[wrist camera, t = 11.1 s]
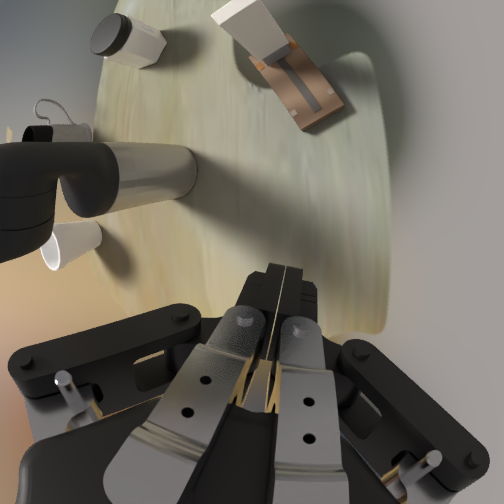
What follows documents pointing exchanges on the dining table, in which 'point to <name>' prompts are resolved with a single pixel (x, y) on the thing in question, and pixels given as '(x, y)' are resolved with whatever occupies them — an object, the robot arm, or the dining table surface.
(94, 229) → the foam cup
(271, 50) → the white grey block
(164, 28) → the dining table surface
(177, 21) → the dining table surface
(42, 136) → the glass holder
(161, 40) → the jar
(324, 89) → the slider board
